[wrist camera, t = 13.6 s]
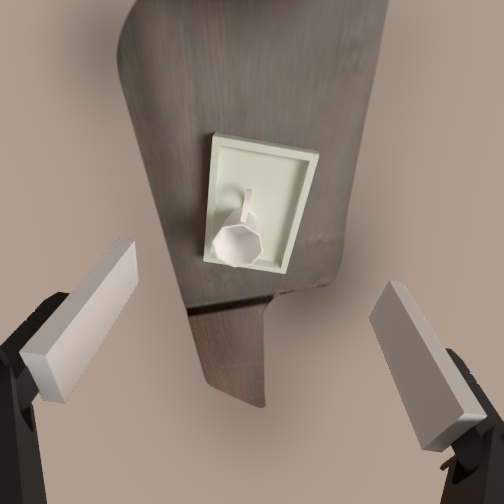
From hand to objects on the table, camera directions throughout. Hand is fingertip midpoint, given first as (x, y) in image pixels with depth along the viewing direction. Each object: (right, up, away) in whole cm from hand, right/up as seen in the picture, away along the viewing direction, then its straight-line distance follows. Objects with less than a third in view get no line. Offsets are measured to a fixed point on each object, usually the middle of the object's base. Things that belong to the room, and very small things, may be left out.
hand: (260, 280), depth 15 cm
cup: (-2, +8, +29) cm, 30 cm away
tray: (0, +8, +29) cm, 30 cm away
